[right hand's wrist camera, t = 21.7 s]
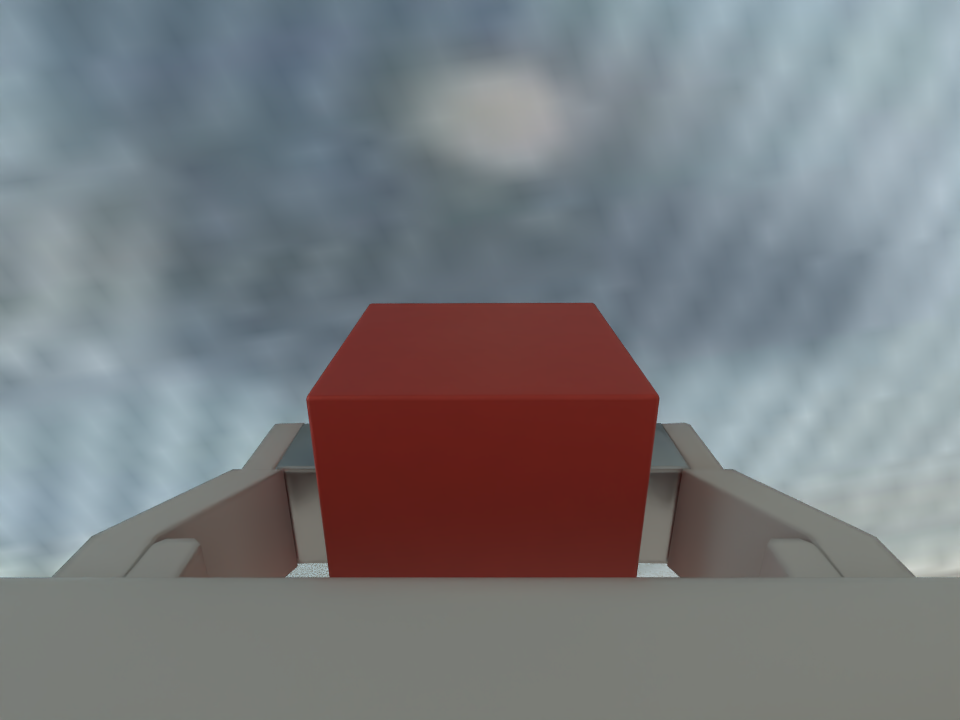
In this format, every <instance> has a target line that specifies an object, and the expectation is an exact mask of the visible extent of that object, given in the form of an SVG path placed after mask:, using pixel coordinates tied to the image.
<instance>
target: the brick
mask: <svg viewBox="0 0 960 720" xmlns="http://www.w3.org/2000/svg"><path fill="white" fill-rule="evenodd" d="M306 401H307V409H308V417H309V424H310V432H311V439H312V447H313V455H314V462H315V470H316V478H317V485H318V493H319V500H320V508H321V516H322V523H323V531H324V538H325V546H326V554H327V561H328V569H329V577H637V569H638V562H639V554H640V546H641V538H642V530H643V523H644V515H645V507H646V499H647V492H648V484H649V476H650V468H651V460H652V453H653V445H654V437H655V429H656V422H657V414H658V406H659V395H658V394H657V392H656V391H655V390H654V388H653V387H652V385H651V384H650V382H649V381H648V380H647V378H646V377H645V375H644V374H643V372H642V371H641V370H640V368H639V367H638V365H637V364H636V363H635V361H634V360H633V358H632V357H631V355H630V354H629V353H628V351H627V350H626V348H625V347H624V345H623V344H622V343H621V341H620V340H619V338H618V337H617V336H616V334H615V333H614V331H613V330H612V328H611V327H610V326H609V324H608V323H607V321H606V320H605V318H604V317H603V316H602V314H601V313H600V311H599V310H598V309H597V307H596V306H595V304H593V303H390V304H370V305H369V306H368V307H367V309H366V310H365V312H364V313H363V315H362V316H361V318H360V319H359V321H358V322H357V324H356V325H355V327H354V328H353V330H352V331H351V332H350V334H349V335H348V337H347V338H346V340H345V341H344V343H343V344H342V346H341V347H340V349H339V350H338V352H337V353H336V355H335V356H334V357H333V359H332V360H331V362H330V363H329V365H328V366H327V368H326V369H325V371H324V372H323V374H322V375H321V377H320V378H319V380H318V381H317V382H316V384H315V385H314V387H313V388H312V390H311V391H310V393H309V394H308V396H307V399H306Z"/></svg>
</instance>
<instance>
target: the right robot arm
mask: <svg viewBox="0 0 960 720" xmlns="http://www.w3.org/2000/svg"><path fill="white" fill-rule="evenodd" d="M298 563H328V561H327V554H326V546H325V538H324V531H323V523H322V516H321V508H320V500H319V493H318V485H317V478H316V470H315V462H314V455H313V447H312V439H311V432H310V424H305V423H281V424H275V425H274V426H273V427H272V428H271V430H270V431H269V433H268V434H267V435H266V437H265V438H264V439H263V441H262V442H261V443H260V445H259V446H258V448H257V449H256V450H255V452H254V453H253V454H252V456H251V457H250V458H249V460H248V461H247V463H246V464H245V465H244V467H243V468H242V469H232V470H230V471H228V472H226V473H224V474H222V475H220V476H218V477H216V478H214V479H211V480H209V481H207V482H205V483H203V484H201V485H199V486H197V487H195V488H192V489H190V490H188V491H186V492H184V493H182V494H180V495H178V496H176V497H174V498H171V499H169V500H167V501H165V502H163V503H161V504H159V505H157V506H155V507H153V508H150V509H148V510H146V511H144V512H142V513H140V514H138V515H136V516H134V517H131V518H129V519H127V520H125V521H123V522H121V523H119V524H117V525H115V526H113V527H110V528H108V529H106V530H104V531H102V532H100V533H98V534H96V535H94V536H92V537H91V538H90V539H89V540H88V541H87V542H86V543H85V544H84V545H83V546H82V547H81V548H80V549H79V550H78V551H77V552H76V553H75V554H74V555H73V556H72V557H71V558H70V559H69V560H68V561H67V562H66V563H65V564H64V565H63V566H62V567H61V568H60V569H59V570H58V571H57V572H56V573H55V574H54V575H53V576H52V577H0V720H960V577H915V576H914V575H913V574H912V573H911V572H910V571H909V570H908V569H907V568H906V567H905V566H904V565H903V564H902V563H901V562H900V561H899V560H898V559H897V558H896V557H895V556H894V555H893V554H892V553H891V552H890V551H889V550H888V549H887V548H886V547H885V546H884V545H883V544H882V543H881V542H880V541H879V540H878V539H877V538H876V537H875V536H873V535H871V534H868V533H866V532H864V531H862V530H860V529H858V528H856V527H854V526H852V525H849V524H847V523H845V522H843V521H841V520H839V519H837V518H835V517H832V516H830V515H828V514H826V513H824V512H822V511H820V510H818V509H816V508H813V507H811V506H809V505H807V504H805V503H803V502H801V501H799V500H797V499H794V498H792V497H790V496H788V495H786V494H784V493H782V492H780V491H777V490H775V489H773V488H771V487H769V486H767V485H765V484H763V483H761V482H758V481H756V480H754V479H752V478H750V477H748V476H746V475H744V474H741V473H739V472H737V471H735V470H733V469H723V468H722V466H721V465H720V464H719V462H718V461H717V460H716V458H715V457H714V456H713V454H712V453H711V452H710V450H709V449H708V448H707V446H706V445H705V444H704V442H703V441H702V440H701V438H700V437H699V436H698V434H697V433H696V432H695V430H694V429H693V428H692V426H691V425H690V424H687V423H668V424H661V423H656V429H655V437H654V445H653V453H652V460H651V468H650V476H649V484H648V492H647V499H646V507H645V515H644V523H643V530H642V538H641V546H640V554H639V562H638V563H667V566H668V567H669V568H670V569H672V570H673V571H674V572H675V573H676V574H677V575H678V576H679V577H286V576H287V575H288V574H289V573H290V572H292V571H293V570H294V569H295V568H296V567H297V566H298V565H297V564H298Z"/></svg>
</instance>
